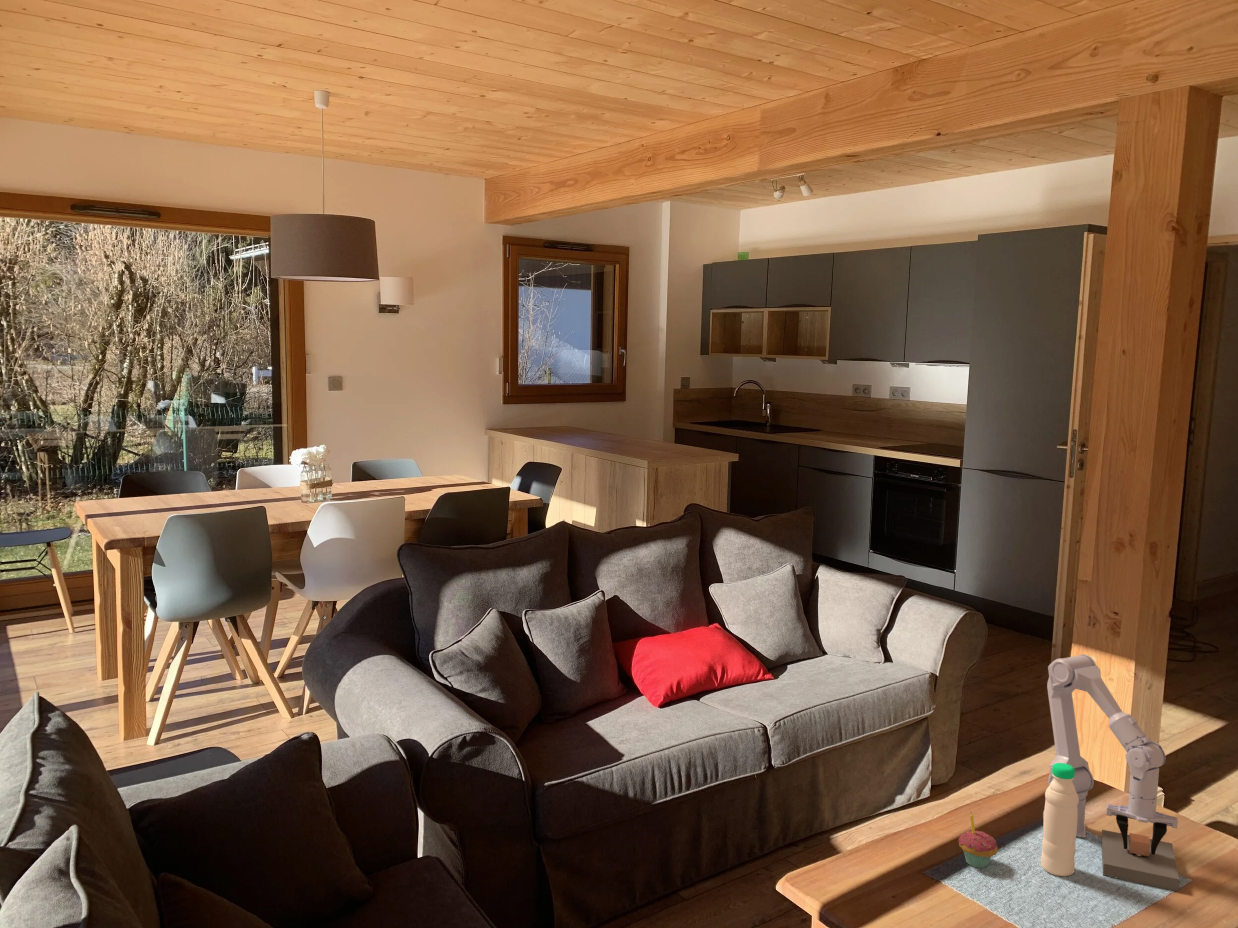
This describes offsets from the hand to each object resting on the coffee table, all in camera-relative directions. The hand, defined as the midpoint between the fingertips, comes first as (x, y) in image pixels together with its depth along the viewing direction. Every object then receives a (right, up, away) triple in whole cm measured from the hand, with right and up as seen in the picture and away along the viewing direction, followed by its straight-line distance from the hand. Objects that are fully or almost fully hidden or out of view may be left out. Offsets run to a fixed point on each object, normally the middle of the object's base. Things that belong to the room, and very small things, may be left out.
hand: (1138, 849), depth 224 cm
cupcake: (-38, -3, +1) cm, 38 cm away
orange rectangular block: (0, -4, 0) cm, 4 cm away
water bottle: (-20, -4, -2) cm, 21 cm away
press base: (0, -4, 0) cm, 4 cm away
